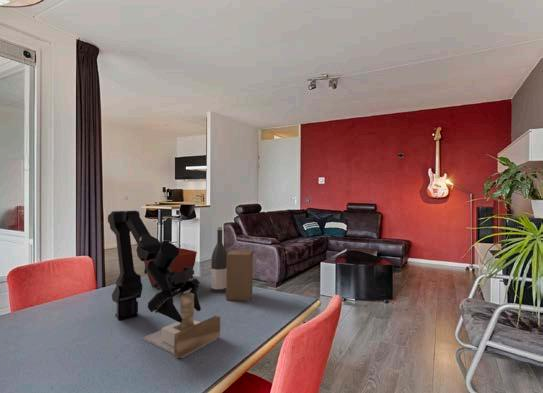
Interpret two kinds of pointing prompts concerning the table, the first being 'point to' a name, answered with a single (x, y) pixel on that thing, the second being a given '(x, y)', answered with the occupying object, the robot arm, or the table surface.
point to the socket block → (171, 332)
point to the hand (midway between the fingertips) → (191, 315)
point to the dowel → (187, 311)
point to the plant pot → (179, 262)
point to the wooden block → (239, 275)
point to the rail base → (189, 337)
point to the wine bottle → (218, 265)
